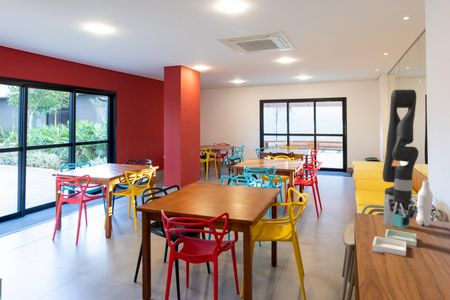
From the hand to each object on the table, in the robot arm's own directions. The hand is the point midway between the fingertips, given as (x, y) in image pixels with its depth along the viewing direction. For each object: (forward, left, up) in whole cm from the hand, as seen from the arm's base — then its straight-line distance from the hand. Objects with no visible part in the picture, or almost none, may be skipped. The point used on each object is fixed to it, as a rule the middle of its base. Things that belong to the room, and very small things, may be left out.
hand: (400, 223), depth 144 cm
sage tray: (0, 0, -9) cm, 9 cm away
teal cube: (0, 0, -1) cm, 1 cm away
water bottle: (-37, -9, -9) cm, 39 cm away
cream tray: (+15, +4, -9) cm, 18 cm away
